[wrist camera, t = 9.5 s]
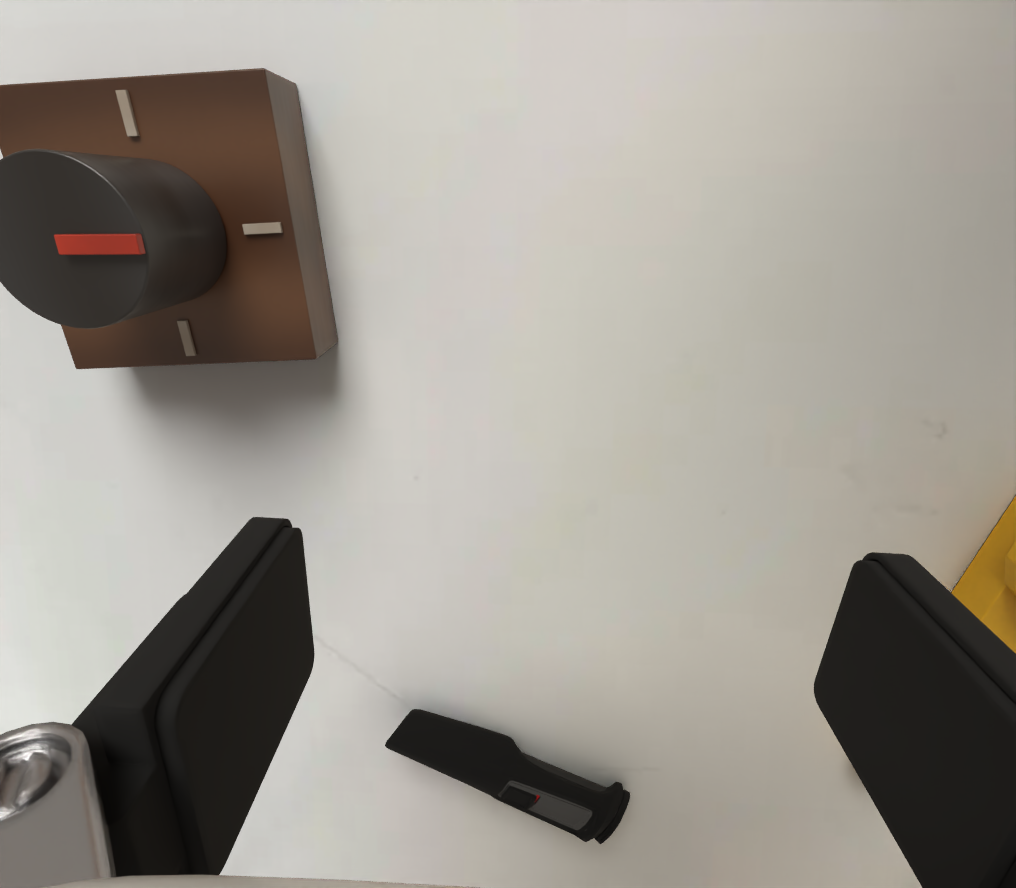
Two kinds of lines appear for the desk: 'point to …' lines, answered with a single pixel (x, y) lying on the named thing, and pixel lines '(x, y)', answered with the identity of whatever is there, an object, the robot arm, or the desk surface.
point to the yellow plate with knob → (994, 580)
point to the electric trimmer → (511, 774)
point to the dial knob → (104, 236)
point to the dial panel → (231, 186)
